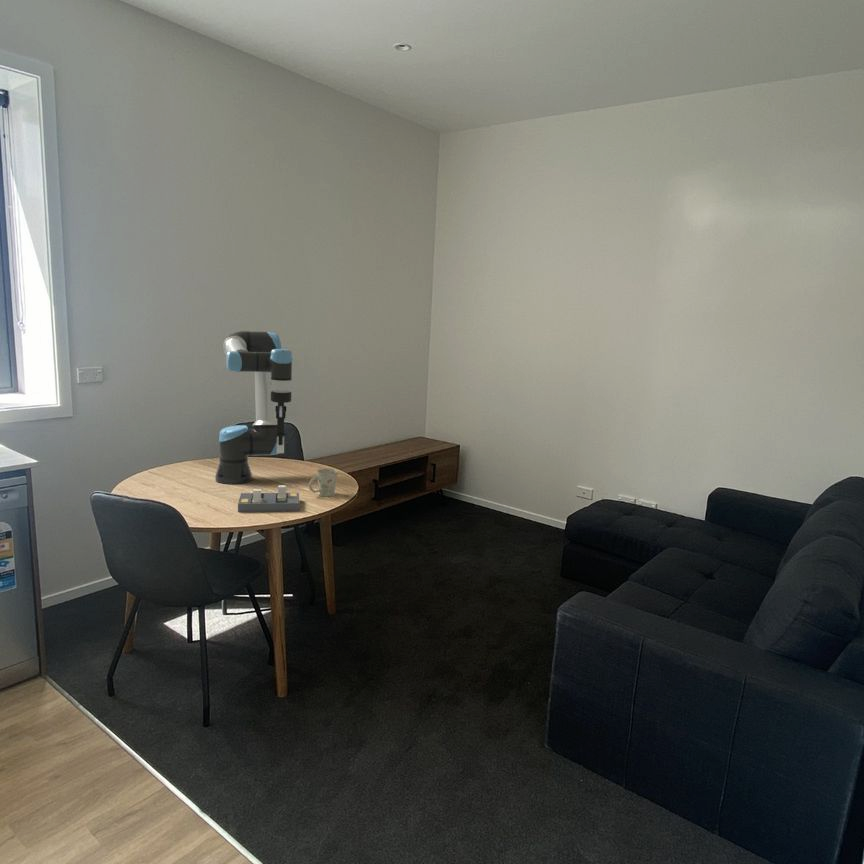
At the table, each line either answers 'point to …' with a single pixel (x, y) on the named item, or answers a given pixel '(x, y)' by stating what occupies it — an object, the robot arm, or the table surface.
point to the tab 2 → (281, 493)
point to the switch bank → (268, 503)
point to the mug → (325, 482)
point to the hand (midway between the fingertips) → (280, 452)
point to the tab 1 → (257, 496)
